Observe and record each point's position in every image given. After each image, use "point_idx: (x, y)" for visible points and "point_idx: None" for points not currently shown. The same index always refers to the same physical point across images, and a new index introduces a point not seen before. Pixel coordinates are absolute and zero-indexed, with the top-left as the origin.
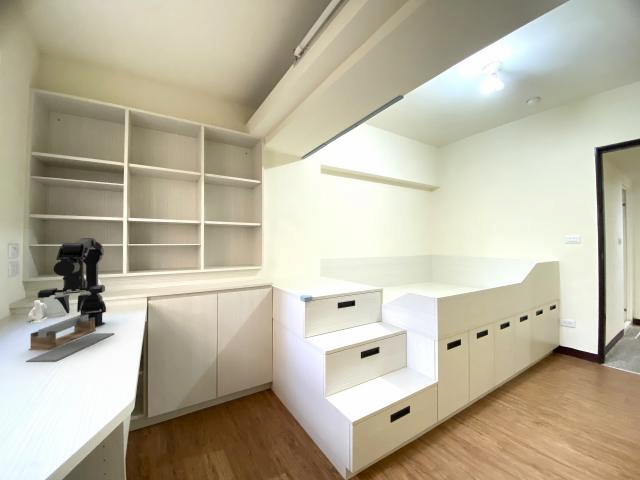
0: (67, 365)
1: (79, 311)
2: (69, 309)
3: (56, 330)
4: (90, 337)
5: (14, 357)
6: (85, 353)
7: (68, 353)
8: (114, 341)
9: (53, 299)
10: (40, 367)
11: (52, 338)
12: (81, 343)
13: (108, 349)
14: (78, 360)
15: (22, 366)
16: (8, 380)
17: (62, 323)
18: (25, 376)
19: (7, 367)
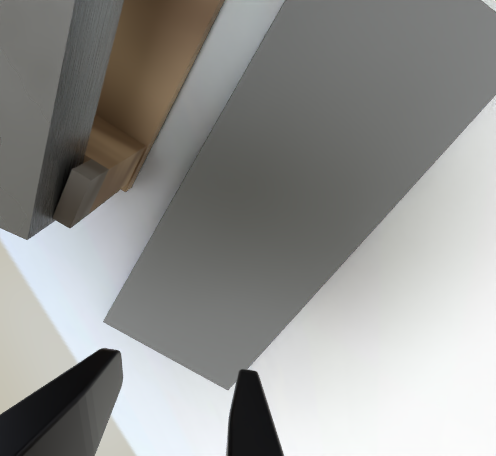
0: (281, 442)
1: (256, 378)
2: (92, 393)
3: (77, 123)
4: (343, 67)
5: None
6: (332, 360)
7: (259, 342)
8: (488, 259)
9: None
10: (190, 403)
11: (108, 186)
12: (296, 203)
13: (434, 375)
14: (312, 421)
15: None
16: (136, 445)
17: (61, 35)
18: (173, 447)
19: (60, 327)
